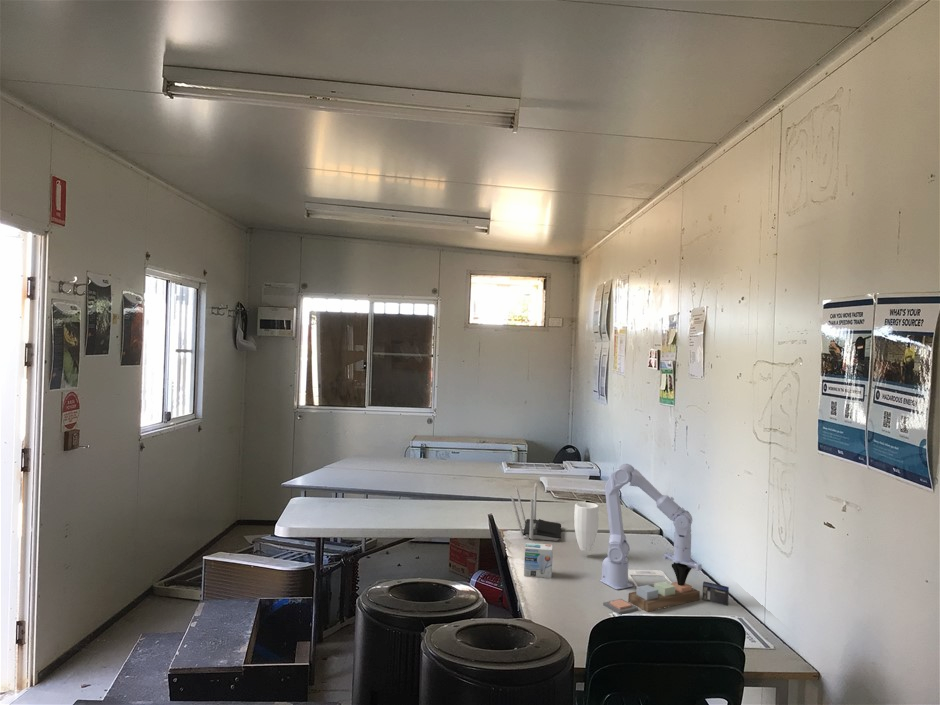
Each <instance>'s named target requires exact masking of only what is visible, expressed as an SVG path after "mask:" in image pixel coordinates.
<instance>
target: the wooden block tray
mask: <svg viewBox="0 0 940 705" xmlns="http://www.w3.org/2000/svg"><path fill="white" fill-rule="evenodd" d="M636 593H637V590H636V591H632V592H628V601H627V602H628V603H630V604H632V605H634V606H636V607H638V609H641V610H643V611H645V612H647V613H649V612H653V610H654V611H657V610H656V609H658V608H662V609H665V608H664V607H667V608H669V607H668V606H671V607H674V606H673V605H675V606H679V605H678V604H680V605H683V603H684V604H687V602H688V603H691V602H697V601H700V599H701V598H700V596H701V595H700V594H701V592H700V590H697V589H696V588H694V587H692V590H691V591H687V592H682V593H681V592H679V591H677V590H675V594H673V595H669V596H663V595H661V594H659V593H658V598H655V599H651V600H645V599H643V598H642V597H640V596H638V595H636ZM658 610H659V609H658Z"/></svg>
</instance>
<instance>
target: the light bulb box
mask: <svg viewBox="0 0 940 705" xmlns="http://www.w3.org/2000/svg"><path fill="white" fill-rule="evenodd" d="M553 551H554V547H553V544H546V543H545V544H544V543H533V542H525V547H524V559H523V560H524V561H523V562H524V563H523V565H524V566H523V569H524V570H523V576H524V577H532V576H535V577H536V578H543V577H544V579H545V578H546V579H552V574H553V558H554V556H553V554H554V552H553ZM535 577H534V578H535Z"/></svg>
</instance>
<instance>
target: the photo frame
mask: <svg viewBox="0 0 940 705" xmlns="http://www.w3.org/2000/svg"><path fill="white" fill-rule="evenodd" d="M633 576H634V577H656V576H664V578H665V579H666V580H667V582H668V583H669V582H670V583H673V581H672V580H670V578H669V577H668V576H667V575H666V573H665V572H664V571H663V570H657V569H656V570H655V569H654V570H653V569H628V579H630V581H631V582H632V583H633V586H635V587H636V589H637V587H640V586H638V584H637V582H636V581H635V579H634V578H633ZM670 583H669V584H670ZM652 587H653V588H654V586H652Z"/></svg>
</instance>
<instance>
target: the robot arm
mask: <svg viewBox="0 0 940 705" xmlns="http://www.w3.org/2000/svg"><path fill="white" fill-rule="evenodd" d="M627 484H629V485H628V486H630V487H635V488H636V487H637V488H639V489H641V490H642V491H643V492H644V493H645V494H646V495H647V496H649V497H650V498H652V500H653V501H655V503H656V508H657V509H658V510H659V511H660V512H661V513H662V514H663V515H665V516H666V517H667V518H668V519H669V521H672V524H673V526H674V533H673V553H669V552H663V555H662V556H663V557H662V558H663V559H664V560H668V561H671V562H673V563H671V568H672V570H673V571H674V574H675V577H676V582H678V585H680V586H682V585H685V583H686V581H687V578H688V575H689V573H690V572H691V570H692V569H693V570H695V571H696V572H700V571H702V564H701V563H699V562H697V561H695V560H693V559H692V556H691V555H692V554H691V553H692V524H693V516H692V514H691V513H690V511H688V510H687V509H685V508H684V507H681V506H680V505H678V503H677V502H675V501H674V500H675V498H674V497H673V496H669V495H667V494H666V495H664V494H662V493H661V492H660V491H659V490H658V489H657V488H656V487H655V486H654V485H653V484H652V483H651V482H650V481H649V480H648V479H647V478H646V477H645V476H644V475H643V474H642V473H641V472H640V471H639V470H638V469H637V468H635V467H634V466H633V465H632V464H629V463H623V464H621V465H619V467H617V468H616V469H614V471H612V472H611V473H610V475H609V478H608V480H607V481H606V483H605V486H604V495H605V502H606V510H607V519H608V520H607V521H608V529H609V539H608V549H607V553H606V554H607V557H605V558H604V559H603V561H602V563H601V564H602V565H601V579H600V580H599V581H600V582H601V583H603V584H604V585H607V586H609V587H610V588H612V589H615V590H622V589H627V588H631V587H634V584H632V583H630V582H629V576H628V570H629V559H628V556H627V555H629V553H630V550H631V549H630V548H631V547H630V544H629V542H628V541H627V537H626V534H625V533H624V532H625V531H624V523H623V515H622V514H623V513H622V504H621V498H620V497H621V496H620V490H621V489H622V488H623V487H624V486H626V485H627Z"/></svg>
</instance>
